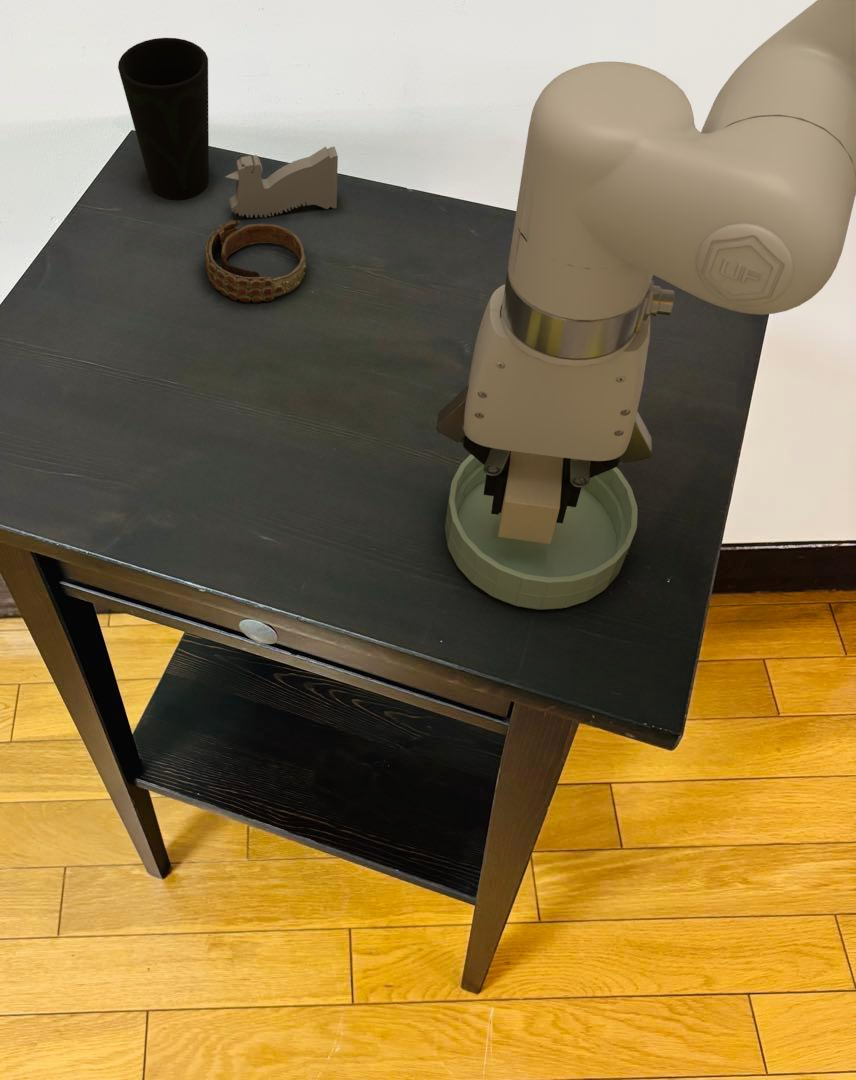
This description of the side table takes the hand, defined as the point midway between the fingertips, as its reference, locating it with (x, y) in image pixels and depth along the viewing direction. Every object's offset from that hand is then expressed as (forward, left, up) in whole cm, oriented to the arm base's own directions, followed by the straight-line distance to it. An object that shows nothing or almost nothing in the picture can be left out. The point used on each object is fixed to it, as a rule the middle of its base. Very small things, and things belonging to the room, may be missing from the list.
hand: (528, 500), depth 73 cm
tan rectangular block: (0, 0, 0) cm, 0 cm away
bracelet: (+25, -24, -4) cm, 35 cm away
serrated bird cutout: (+24, -33, -4) cm, 41 cm away
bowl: (-1, 0, -4) cm, 4 cm away
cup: (+35, -35, -4) cm, 50 cm away
